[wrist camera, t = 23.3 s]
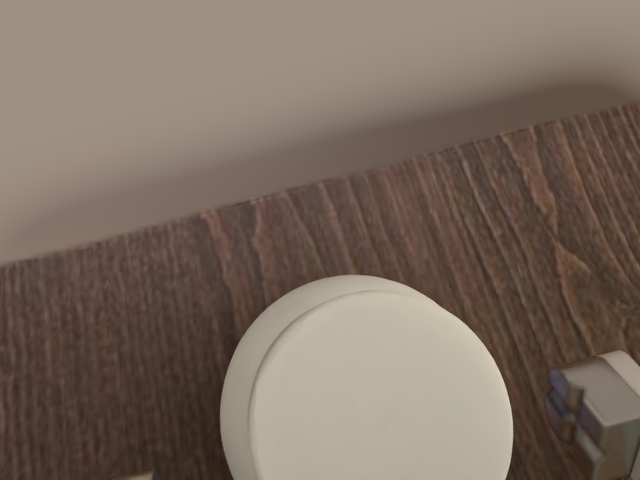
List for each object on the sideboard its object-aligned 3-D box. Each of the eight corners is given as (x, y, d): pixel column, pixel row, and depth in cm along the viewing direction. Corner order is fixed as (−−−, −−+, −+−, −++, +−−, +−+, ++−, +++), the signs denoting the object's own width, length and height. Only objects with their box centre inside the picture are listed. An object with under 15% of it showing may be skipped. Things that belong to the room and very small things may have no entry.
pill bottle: (401, 501, 17) (549, 660, 8) (225, 472, 17) (159, 598, 8) (423, 324, 19) (574, 275, 9) (259, 295, 18) (239, 214, 9)
